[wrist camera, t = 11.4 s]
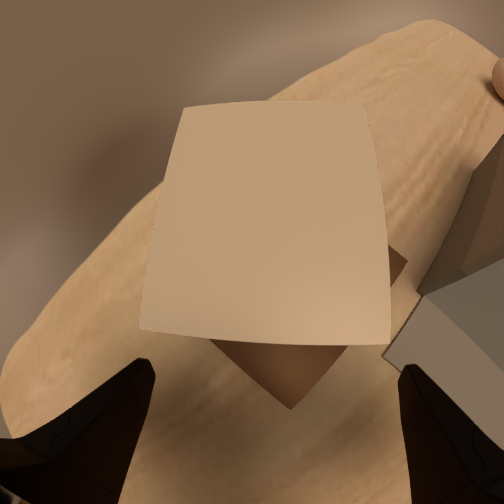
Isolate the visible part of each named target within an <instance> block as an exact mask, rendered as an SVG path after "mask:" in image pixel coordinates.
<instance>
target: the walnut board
mask: <svg viewBox="0 0 504 504" xmlns="http://www.w3.org/2000/svg"><path fill="white" fill-rule="evenodd" d="M388 254H389V269H390V288H391V287H392V285H393V284H394V282H395V280H396V279H397V277H398V276H399V274H400V273H401V271H402V270H403V268H404V266H405V265H406V263H407V262H408V261H407V260H406V259H405V258H404V257H402V256H401V255H400V254H399V253H398V252H396V251H395V250H394V249H393V248H391V247H390V246H389V245H388ZM210 340H211V341H212V342H213V343H214V344H215V345H216V346H217V347H218V348H219V349H220V350H222V351H223V352H224V353H225V354H226V355H227V356H228V357H229V358H230V359H231V360H232V361H233V362H235V363H236V364H237V365H238V366H239V367H240V368H241V369H242V370H244V371H245V372H246V373H247V374H248V375H249V376H250V377H251V378H253V379H254V380H255V381H256V382H257V383H258V384H260V385H261V386H262V387H263V388H264V389H265V390H267V391H268V392H269V393H270V394H271V395H273V396H274V397H275V398H276V399H278V400H279V401H280V402H281V403H282V404H284V405H285V406H286V407H287V408H289V409H290V410H291V409H292V408H293V407H294V406H295V405H296V404H297V403H298V402H299V401H300V400H301V399H302V398H303V397H304V396H305V395H306V394H307V393H308V392H309V391H310V389H311V388H312V387H313V386H314V385H315V384H316V383H317V382H318V381H319V380H320V378H321V377H322V376H323V375H324V374H325V373H326V372H327V370H328V369H329V368H330V367H331V366H332V365H333V363H334V362H335V361H336V360H337V359H338V357H339V356H340V355H341V354H342V353H343V351H344V350H345V349H346V348H347V346H348V345H294V344H272V343H255V342H241V341H229V340H219V339H210Z"/></svg>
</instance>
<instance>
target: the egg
mask: <svg viewBox="0 0 504 504" xmlns="http://www.w3.org/2000/svg"><path fill="white" fill-rule="evenodd" d="M492 82H493V85H494V88H495V90H496V92H497V94H498V95H499V97H501V98H502V99H503V100H504V57H503V58H501V59H500V60H498V61H497V63H496V64H495V66H494V67H493V70H492Z"/></svg>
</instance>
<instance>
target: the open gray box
mask: <svg viewBox="0 0 504 504" xmlns="http://www.w3.org/2000/svg"><path fill="white" fill-rule="evenodd" d="M417 292H418V293H419V294H420V295H421V296H422V298H421V299H420V301H419V302H418V304H417V306H416V307H415V309H414V311H413V312H412V314H411V315H410V317H409V318H408V320H407V321H406V323H405V324H404V326H403V327H402V329H401V330H400V332H399V333H398V335H397V336H396V338H395V339H394V340H393V342H392V343H391V345H390V346H389V347H388V349H387V350H386V351H385V353H384V354H383V355H382V357H383V358H384V359H386V360H387V361H388V362H389V363H391V364H392V365H393V366H394V367H395V368H397V369H398V370H399V371H400V372H402V370H403V368H404V366H405V365H407V364H417V365H418V366H419V367H420V368H421V369H422V370H423V371H424V372H425V373H426V374H427V375H428V376H429V377H430V378H431V379H432V380H433V381H434V382H435V383H436V384H437V385H438V386H439V387H440V388H441V389H442V390H443V391H444V392H445V393H446V394H447V395H448V396H449V397H450V398H451V399H452V400H453V401H454V402H455V403H456V404H457V405H458V406H459V407H460V408H461V409H462V410H463V411H464V412H465V413H466V414H467V415H468V416H469V417H470V418H471V420H472V421H473V422H474V423H475V424H476V425H477V426H478V427H479V428H480V429H481V430H482V431H483V432H484V433H485V434H486V435H487V436H488V437H489V438H490V439H491V440H492V441H493V442H494V443H496V444H497V445H498V446H499V447H500V448H501V449H503V450H504V134H503V135H502V136H501V138H500V139H499V140H498V142H497V143H496V144H495V146H494V147H493V148H492V150H491V151H490V152H489V153H488V155H487V156H486V157H485V158H484V160H483V161H482V162H481V163H480V165H479V166H478V167H477V168H476V169H475V171H474V173H473V176H472V179H471V181H470V184H469V187H468V189H467V192H466V194H465V196H464V199H463V201H462V204H461V206H460V208H459V211H458V213H457V215H456V217H455V219H454V222H453V224H452V226H451V228H450V230H449V232H448V234H447V236H446V238H445V240H444V242H443V244H442V246H441V248H440V250H439V252H438V254H437V256H436V258H435V260H434V261H433V263H432V265H431V267H430V269H429V270H428V272H427V274H426V276H425V277H424V279H423V281H422V283H421V284H420V286H419V288H418V289H417Z"/></svg>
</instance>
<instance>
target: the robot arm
mask: <svg viewBox="0 0 504 504" xmlns="http://www.w3.org/2000/svg"><path fill="white" fill-rule="evenodd" d="M154 382H155V372H154V370H153V367H152V365H151V363H150V361H149V360H148V359H144V358H137V359H136V360H134V361H133V362H132V363H130V364H129V365H128V366H126V367H125V368H124V369H122V370H121V371H119V372H118V373H117V374H115V375H114V376H113V377H111V378H110V379H109V380H107V381H106V382H105V383H103V384H102V385H101V386H99V387H98V388H97V389H95V390H94V391H93V392H91V393H90V394H88V395H87V396H86V397H84V398H83V399H82V400H80V401H79V402H78V403H76V404H75V405H73V406H72V407H71V408H69V409H68V410H66V411H65V412H64V413H62V414H61V415H59V416H58V417H56V418H55V419H53V420H52V421H50V422H48V423H47V424H45V425H43V426H41V427H40V428H38V429H36V430H34V431H33V432H31V433H29V434H27V435H25V436H23V437H20V438H15V439H6V438H0V504H118V502H119V497H120V494H121V491H122V488H123V485H124V481H125V478H126V475H127V472H128V469H129V466H130V463H131V460H132V457H133V454H134V450H135V447H136V445H137V442H138V439H139V436H140V433H141V430H142V427H143V424H144V421H145V418H146V415H147V412H148V408H149V404H150V400H151V395H152V391H153V387H154ZM398 392H399V402H400V416H401V424H402V430H403V436H404V442H405V449H406V455H407V462H408V470H409V478H410V488H411V499H412V504H504V450H503V449H501V448H500V447H499V446H498V445H497V444H496V443H494V442H493V441H492V440H491V439H490V438H489V437H488V436H487V435H486V434H485V433H484V432H483V431H482V430H481V429H480V428H479V427H478V426H477V425H476V424H475V423H474V422H473V421H472V420H471V418H470V417H469V416H468V415H467V414H466V413H465V412H464V411H463V410H462V409H461V408H460V407H459V406H458V405H457V404H456V403H455V402H454V401H453V400H452V399H451V398H450V397H449V396H448V395H447V394H446V393H445V392H444V391H443V390H442V389H441V388H440V387H439V386H438V385H437V384H436V383H435V382H434V381H433V380H432V379H431V378H430V377H429V376H428V375H427V374H426V373H425V372H424V371H423V370H422V369H421V368H420V367H419V366H418V365H417V364H407V365H405V366H404V368H403V370H402V372H401V375H400V377H399V379H398Z"/></svg>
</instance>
